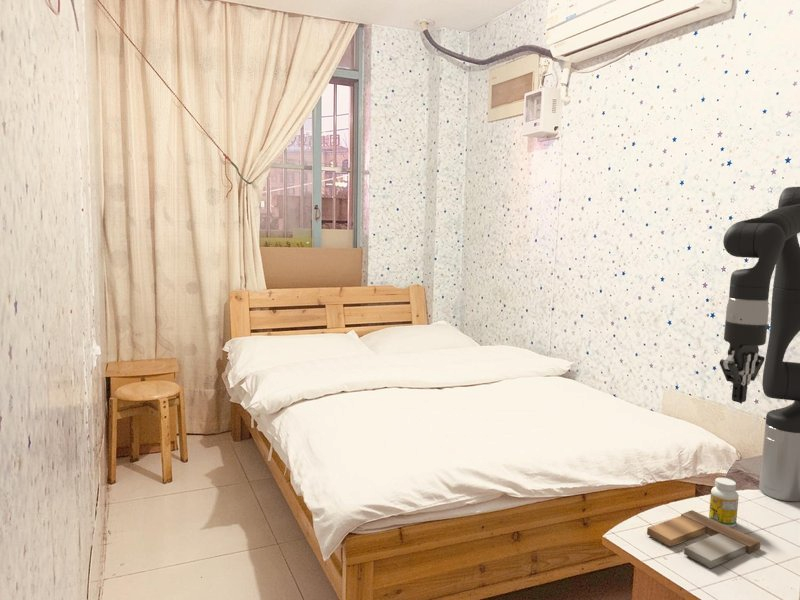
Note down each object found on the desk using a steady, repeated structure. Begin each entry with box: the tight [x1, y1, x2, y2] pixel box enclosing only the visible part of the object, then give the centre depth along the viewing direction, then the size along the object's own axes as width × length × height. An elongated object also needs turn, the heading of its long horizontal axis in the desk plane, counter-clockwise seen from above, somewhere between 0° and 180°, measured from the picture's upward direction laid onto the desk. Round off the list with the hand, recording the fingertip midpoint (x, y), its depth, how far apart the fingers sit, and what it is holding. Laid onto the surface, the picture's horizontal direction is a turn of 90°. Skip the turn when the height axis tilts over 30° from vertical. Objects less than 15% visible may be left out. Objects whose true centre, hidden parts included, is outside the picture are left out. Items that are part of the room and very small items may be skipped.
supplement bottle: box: [708, 477, 739, 528], centre depth 129 cm, size 5×5×10 cm
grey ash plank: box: [683, 533, 747, 569], centre depth 116 cm, size 12×6×2 cm, turn 120°
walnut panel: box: [680, 509, 761, 555], centre depth 124 cm, size 4×15×2 cm, turn 30°
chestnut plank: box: [646, 515, 706, 547], centre depth 124 cm, size 12×6×2 cm, turn 120°
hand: (738, 401), depth 122 cm, fingers closed
